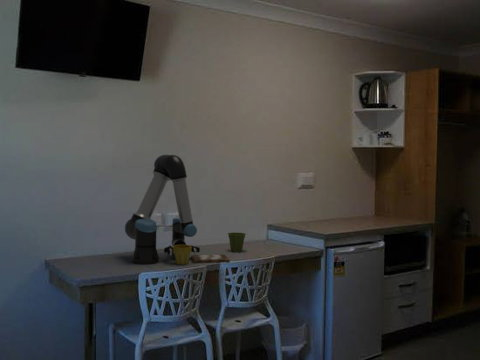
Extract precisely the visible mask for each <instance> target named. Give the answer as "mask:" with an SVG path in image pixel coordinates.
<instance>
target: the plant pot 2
mask: <svg viewBox="0 0 480 360" xmlns="http://www.w3.org/2000/svg"><path fill="white" fill-rule="evenodd" d="M227 235H228V239H229V245H230V251H231V252H235V253H240V252H243V248H244V247H243V246H244V242H245V238H246V235H247V233H245V232H236V231H235V232H227Z"/></svg>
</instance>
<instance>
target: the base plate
mask: <svg viewBox="0 0 480 360" xmlns="http://www.w3.org/2000/svg"><path fill="white" fill-rule="evenodd" d="M191 259H192V261H193V263H194V264H212V263H213V264H215V263H216V264H219V263H220V262H226V263H230V261H231V260H230V259H229V257H228V256H226V254H196V255H195V254H191Z"/></svg>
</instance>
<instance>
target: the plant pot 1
mask: <svg viewBox="0 0 480 360" xmlns="http://www.w3.org/2000/svg"><path fill="white" fill-rule="evenodd" d="M172 247H173V252H172V253H173V254H174V257H175V263H176V265H188V264H189V263H190V262H189V261H190V255H191V253H192V252H191V251H192V247H191V246H190V245H189V244H186V245H175V246H172Z"/></svg>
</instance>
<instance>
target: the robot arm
mask: <svg viewBox="0 0 480 360" xmlns="http://www.w3.org/2000/svg"><path fill="white" fill-rule="evenodd" d="M153 167H154V169H153V171H152V174H153V177H152V179H151V182H150V183H149V186H148V187H147V190H146V192H145V194H144V197H143V198H142V201H141V203H140V205H139V207H138V209H137V211H136V212H134V213H133V214H132V216H131V218H130V219H128V220H127V221H126V222H125V225H124V232H125V234H126V235H127V237H128V238H129V239H132V240H134V243H135V245H134V246H135V247H134V250H133V253H132V256H131V263H132V264H133V263H134V264H139V265H150V264H157V263H160V256H159V253H158V250H157V249H158V248H157V227H158V226H157V222H156V221H155V220H153V219H151V217H152V216H153V214H154V211H155V209H156V206H157V205H158V202H159V200H160V198H161V196H162V194H163V192H164V189H165V187H166V185H167V183H168V182H169V181H171V182H172V185H173V190H174V195H175V196H174V197H175V202H176V208H177V212H178V213H177V214H178V217H174V218H172V223H171V225H172V227H171V229H172V233H171V234H172V236H171V237H172V238H171V245H168V246H166V247H164V249H163V253H166V254H167V255H169V256H172V255H173V254H172V253H174V252H173V246H175V245H187V243H186V241H185V237H189V238H192V237H194V236H196V234H197V232H198V229H197V226H196V224H194V222H193V221H194V220H193V217H192V209H191V204H190V198H189V191H188V187H187V181H186V180H187V177H188V175H187V170H186V167H185V164H184V161H183V160H182V158H181V157H179V155H176V154H162V155H160V156H158V157H157V158H156V159H155V160H154V164H153ZM190 246H191V247H192V251H191V253H193V255H197V253H200V251H201V250H200V247H198V246H194V245H190Z"/></svg>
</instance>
